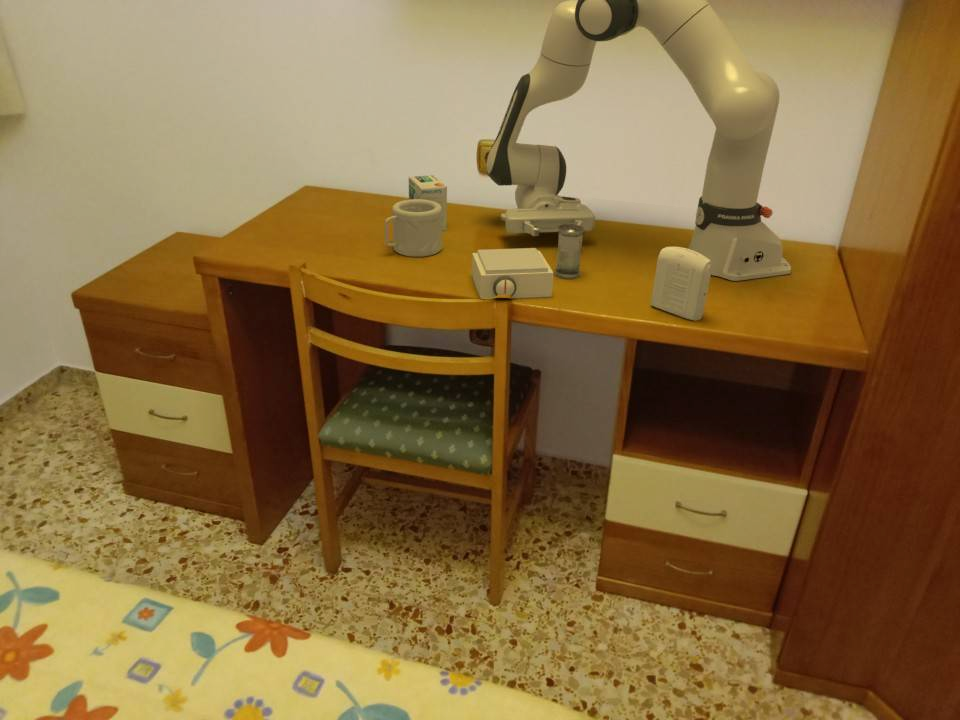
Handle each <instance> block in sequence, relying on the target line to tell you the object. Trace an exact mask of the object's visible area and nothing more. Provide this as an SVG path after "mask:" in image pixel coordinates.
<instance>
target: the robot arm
mask: <svg viewBox="0 0 960 720" xmlns="http://www.w3.org/2000/svg"><path fill="white" fill-rule="evenodd" d="M546 27H547V28H546V30H545V33H544V37H543V40H542V45H541V49H540V54H539V56H538V59H537V62H536V63H535V65H534V67H532V69H531V70H530V71H529V72H528V73H526V74H524V75H522V76H521V77H520V78H519V80H518V82H517V84H516V86H515V87H514V88H515V89H514V91H513V93H512V96H511V98H510V100H509V104H508V105H507V108H506V111H505V114H504V117H503V119H502V123H501V125H500V127H499V130H498V133H497V135H496V137H495V140H494V142H493V144H492V145H491V148H490V151H489V152H488V155H487V160H486V174H487V175H488V177H489V178H490V180H492V181H493V182H494V184H496V186H500V187H501V186H516V188H515V192H514V200H515V205H516V207H517V208H510V209H507V210H506V211H505V213H503V212H502V213H501V214H500V219H501V220H502V221H504V222H505V230H506V232H507V233H510V234H530V235H531V236H532V237H538V236H540V233H559V232H558V227H559V226H560V225H563V224H575V225H579V226H582V227H583V228H584V232H591V231H593V230H594V228H595V223H596V222H595V221H596V215H595V213H594V212H593V211H592V210H591V209H590V208H589V207H588V206H586V205H585V204H582V203H581V199H580V198H578V197H569V196H563V195H559V194H560V192H561V191H562V189H563V188H564V185H565V181H566V177H567V162H566V159H565V157H564V155H563V153H562V151H561V149H559V147H557V146H556V145H555V146H554V145H547V144H531V143H530V144H529V143H521V142H519V143H518V142H517V141H518V139H519V136H520V134H521V130H522V128H523V126H524V124H525V121H526V118H527V116H528V115H529V114H530V113H531V112H532V111H533V110H535V109H536V108H539V107H541V106H544V105H546V104H551V103H554V102H558V101H563V100H565V99H568V98H569V97H571V96H573V95H575V94H576V93H578V92H579V91H580V89H582V88H583V86H584V84H585V82H586V79H588V74H589V72H590V71H589V70H590V67H591V64H592V59H593V56H594V50H595V47H596V45H597V43H598V42H608V41H612V40H614V39H617V38H618V37H621V36H625V35H628V34H629V33H630V32H632V31H634V30H635V29H636V28H638V27H640V28H641V27H642V28H645V29H646V30H647V31H649V32H650V33H651V34H652V35H653V36H654V38H655V39H656V41H657V42H658V43H659V44H660V46H661V47H662V48H663V50H664V51H665V52H666V53H667V55H668V57H670V59H671V60H672V62H673V63H674V64H675V66H677V67H678V69H679V70H680V72H681V73H682V74H683V75H684V76H685V78H686V79H687V81H688V82H689V85H691V88H692V89H693V92H694V93H695V94H696V97H697V99H698V100H699V101H700V103H701V105H702V107H703V109H704V110H705V112H706V113H707V115H708V116H709V118H710V119H711V121H712V122H713V124H714V127H715V131H714V136H713V140H712V144H711V148H710V152H709V155H708V158H707V162H706V163H707V164H706V168H705V169H706V170H705V175H704V180H703V187H702V193H701V196H700V197H699V198H698V199H699V200H698V203H697V209H696V213H695V225H694V230H693V234H692V238H691V240H690V244H689V246H688V248H687V249H690V250H693V251H695V252H698V253H700V254H702V255H703V256H705V257H707V258H708V259H709V260H710V261H711V262H712V271H711V276H716V277H720V278H722V279H725V280H729V281H734V282H739V281H744V280H745V281H746V280H752V279H753V280H754V279H760V278H761V279H762V278H767V277H777V276H783V275H785V276H786V275H789V274H791V271H792V265H791V264H790V263H789V262H788V261H787V260H786V259H785V257H783V251H784V250H783V243H782V240H781V239H780V238H779V236H777V235H776V233H774V232H773V231H772V230H771V229H770V227H768V226H767V225H766V224H765V223H764V222H763V220H762V217H764V218H765V219H769V218H771V217H772V216H773V214H774V213H773V210H772V208H769V207H768V206H763V205H761V204H760V203H759V202H757V201H758V197H759V192H760V187H761V182H762V177H763V172H764V167H765V165H766V164H765V163H766V159H767V155H768V151H769V149H770V148H769V147H770V144H771V143H770V142H771V139H772V134H773V130H774V127H775V122H776V117H777V112H778V108H779V104H780V90H779V87H778V85H777V83H776V80H774V78H772V77H771V76H770V75H768V74H767V73H765V72H763V71H757V70H755V69H754V68H753V66H752V64H751V63H750V61H749V60H748V58H747V57H746V55H745V53H744V51H743V50H742V48H741V47H740V44H739V43H738V41H737V39H736V37H735V36H734V34H733V33H732V31H730V29H729V28H728V26H726V24H725V22H724V21H723V20H722V19H721V18H720V16H719V14H717V12H716V11H715V10H714V9H713V7H712V6H711V4H709V2H708V1H707V0H564V1H562V2H560V3H559V4H558V5H556V6H555V8H554V9H553V11H552V14H551V17H550V19H549V22H548V25H547V26H546ZM761 216H762V217H761Z"/></svg>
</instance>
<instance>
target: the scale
mask: <svg viewBox="0 0 960 720" xmlns="http://www.w3.org/2000/svg"><path fill="white" fill-rule="evenodd" d="M554 275H555V272H553V269H552V268H551V266H550V265H549V263H548V262H547V260H546V258H545V257H544V255H543V254H542V252H541V251H540V250H538V249H537V248H536V247H526V248H525V247H523V248H497V249H495V248H494V249H477V252H472V254H471V277H472V281H473V283H474V285H475V289H476V291H477V293H478V296H479V299H480V298H493V297H495V296H497V295H507V294H509V295H511V297H512V298H511V299H526V298H527V299H529V298H530V299H531V298H551V297H552V296H553V287H554V286H553V285H554Z"/></svg>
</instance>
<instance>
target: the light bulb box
mask: <svg viewBox="0 0 960 720" xmlns="http://www.w3.org/2000/svg"><path fill="white" fill-rule="evenodd" d="M447 197H448V185H446V184H445V183H444V182H442V181H441V180H440V179H439V178H438V177H437V176H435V175H433V174H430V175H429V174H428V175H419V176H408V200H411V199H423V200H430V201H434V202H436V203H438V204H440V205H441V207H442V232H443V231H444V232H445V231H447V225H448V224H447V219H448V217H447V215H448V214H447V208H448V205H447V203H448V201H447V200H448V198H447Z"/></svg>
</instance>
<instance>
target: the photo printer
mask: <svg viewBox="0 0 960 720" xmlns="http://www.w3.org/2000/svg"><path fill="white" fill-rule="evenodd" d="M656 261H657V263H656V268H655V274H654V275H655V276H654V281H653V288H652V293H651V299H650V306H652V307H655V308H656V309H659V310H662V311H665V312H667V313H670V314H673V315H675V316H677V317H681V318H684V319H687V320H691V321H694V322H695V321H700V320H701V319H702V317H703V314H704V310H705V306H706V301H707V297H708V290H709V286H710V281H711V276H712V275H711V271H712V262H711V261H710V260H709V259H708V258H707V257H705V256H703V255H702V254H700V253H698V252H695V251H693V250H690V249H688V248H687V247H682V246H665V247H664V248H662V249H660V251H659V254H658V256H657V260H656Z"/></svg>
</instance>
